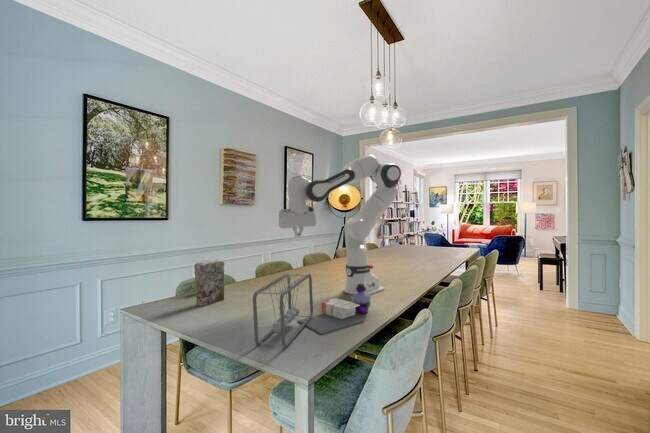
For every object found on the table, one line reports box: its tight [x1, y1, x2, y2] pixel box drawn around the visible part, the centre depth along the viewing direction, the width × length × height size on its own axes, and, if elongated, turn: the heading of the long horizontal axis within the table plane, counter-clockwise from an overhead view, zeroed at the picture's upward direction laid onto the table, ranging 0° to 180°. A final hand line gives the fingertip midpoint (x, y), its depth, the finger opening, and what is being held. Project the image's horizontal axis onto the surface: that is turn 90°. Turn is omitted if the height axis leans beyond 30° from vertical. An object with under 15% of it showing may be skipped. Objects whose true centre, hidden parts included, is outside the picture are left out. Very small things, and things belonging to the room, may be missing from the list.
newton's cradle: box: [252, 272, 314, 348], centre depth 112 cm, size 30×10×18 cm, turn 165°
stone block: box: [193, 259, 225, 307], centre depth 149 cm, size 13×7×20 cm, turn 153°
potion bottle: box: [350, 284, 372, 315], centre depth 131 cm, size 9×9×12 cm
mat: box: [297, 313, 365, 336], centre depth 120 cm, size 20×16×1 cm
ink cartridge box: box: [320, 297, 360, 319], centre depth 126 cm, size 9×5×15 cm
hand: (298, 236), depth 154 cm, fingers closed
